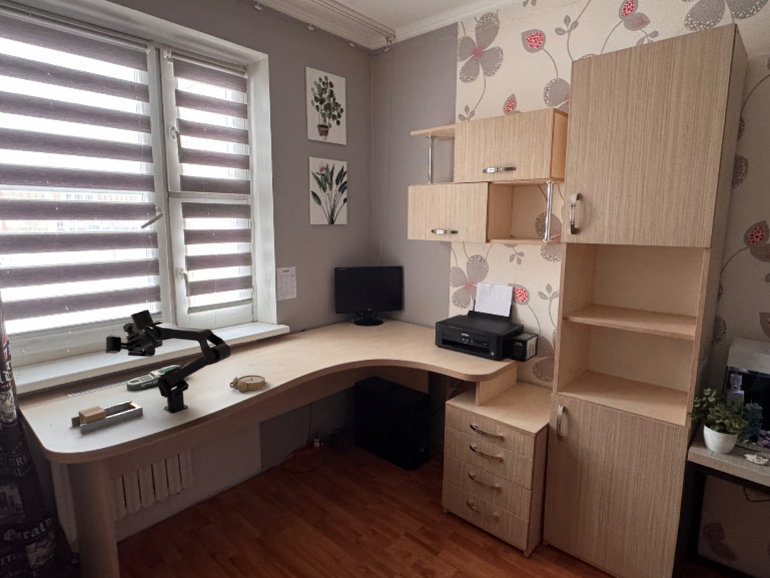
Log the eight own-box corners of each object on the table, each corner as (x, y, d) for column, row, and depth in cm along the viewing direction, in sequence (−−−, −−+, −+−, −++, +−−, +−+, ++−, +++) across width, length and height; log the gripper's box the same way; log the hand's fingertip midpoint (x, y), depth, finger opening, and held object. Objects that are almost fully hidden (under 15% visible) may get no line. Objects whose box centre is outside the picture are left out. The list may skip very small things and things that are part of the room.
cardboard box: (107, 424, 158) (105, 410, 158) (87, 430, 154) (85, 416, 153) (99, 418, 163) (98, 405, 162) (79, 424, 158) (78, 411, 157)
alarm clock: (270, 380, 194) (236, 382, 184) (268, 392, 194) (234, 394, 184) (258, 373, 202) (225, 375, 193) (257, 384, 203) (224, 386, 193)
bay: (143, 415, 166) (142, 407, 166) (82, 434, 151) (81, 425, 151) (131, 407, 173) (130, 400, 172) (71, 425, 158) (71, 417, 157)
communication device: (122, 386, 195) (120, 367, 194) (179, 373, 212) (177, 354, 210) (131, 394, 187) (129, 374, 185) (189, 379, 203) (188, 360, 202)
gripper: (164, 324, 183) (138, 336, 188) (120, 316, 167) (93, 330, 172) (166, 350, 179) (139, 362, 184) (121, 344, 163) (93, 358, 168)
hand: (117, 353), depth 177 cm, fingers open, 9 cm apart
